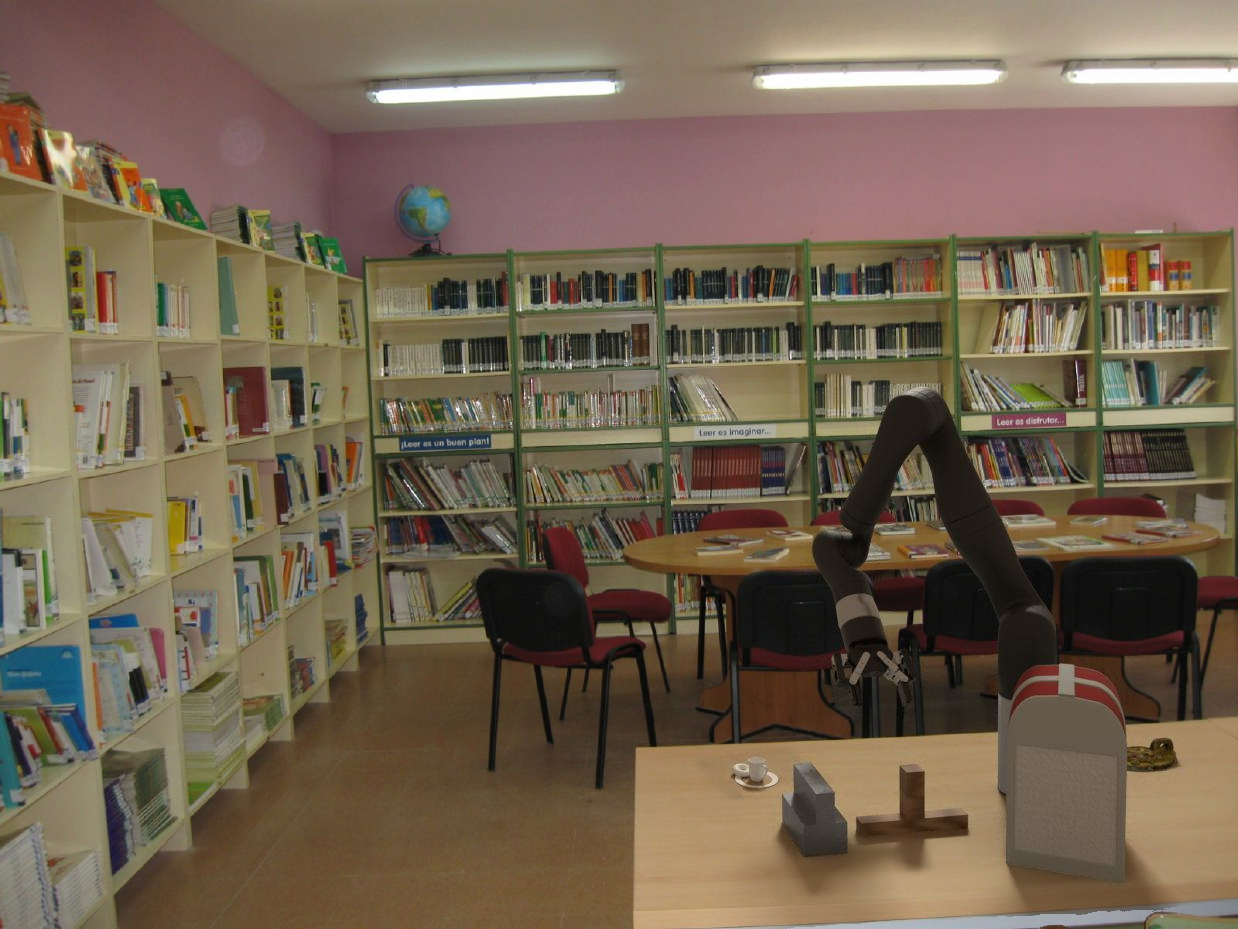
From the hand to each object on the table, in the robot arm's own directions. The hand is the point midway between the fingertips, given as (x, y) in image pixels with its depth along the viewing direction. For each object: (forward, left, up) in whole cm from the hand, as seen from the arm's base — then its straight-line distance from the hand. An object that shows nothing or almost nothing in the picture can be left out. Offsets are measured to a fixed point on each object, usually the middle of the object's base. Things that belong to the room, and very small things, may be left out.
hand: (883, 706), depth 173 cm
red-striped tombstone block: (-29, +8, -17) cm, 34 cm away
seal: (-42, -33, -17) cm, 56 cm away
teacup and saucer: (+23, -4, -17) cm, 29 cm away
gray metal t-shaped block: (+8, +18, -17) cm, 26 cm away
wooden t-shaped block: (-6, +10, -17) cm, 21 cm away
